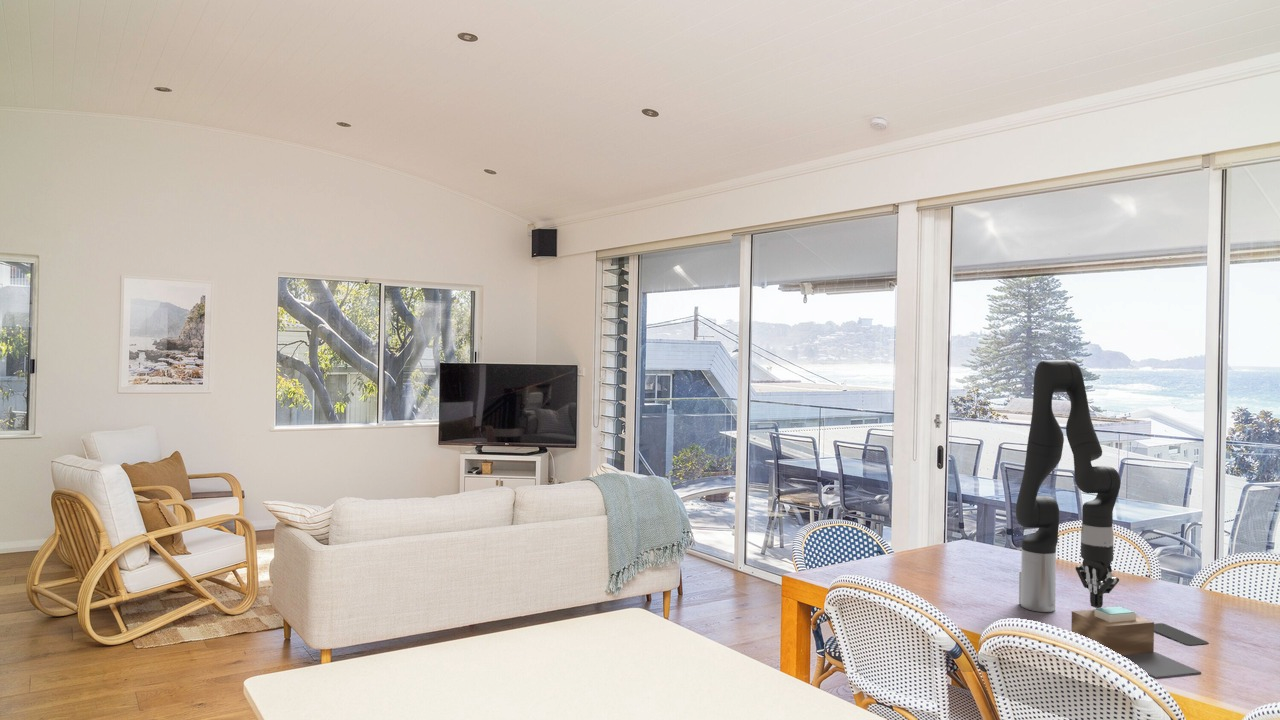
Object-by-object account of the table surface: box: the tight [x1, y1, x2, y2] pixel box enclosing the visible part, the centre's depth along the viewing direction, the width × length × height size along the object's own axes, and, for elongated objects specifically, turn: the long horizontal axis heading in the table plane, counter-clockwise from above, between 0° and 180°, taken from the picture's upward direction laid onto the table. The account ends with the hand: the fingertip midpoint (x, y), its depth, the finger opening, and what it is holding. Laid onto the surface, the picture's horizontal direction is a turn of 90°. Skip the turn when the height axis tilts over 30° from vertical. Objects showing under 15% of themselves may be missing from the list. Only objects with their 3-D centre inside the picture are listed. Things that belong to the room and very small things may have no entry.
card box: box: [1094, 605, 1137, 622], centre depth 210 cm, size 5×8×2 cm, turn 103°
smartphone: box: [1154, 622, 1209, 647], centre depth 220 cm, size 7×1×15 cm
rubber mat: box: [1122, 651, 1202, 680], centre depth 199 cm, size 13×13×1 cm
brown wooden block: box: [1070, 608, 1155, 655], centre depth 211 cm, size 12×14×8 cm
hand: (1096, 607), depth 216 cm, fingers closed
